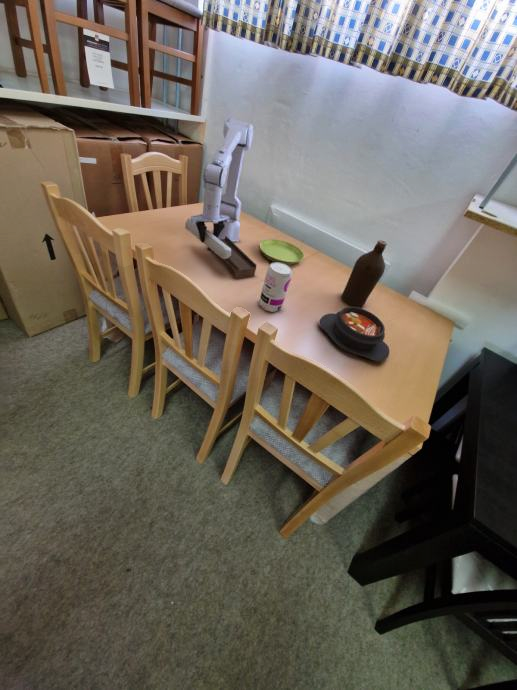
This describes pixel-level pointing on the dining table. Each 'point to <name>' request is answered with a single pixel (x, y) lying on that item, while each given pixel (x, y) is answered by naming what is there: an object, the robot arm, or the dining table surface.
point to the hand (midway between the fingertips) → (208, 241)
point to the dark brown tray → (239, 261)
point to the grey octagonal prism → (210, 240)
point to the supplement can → (275, 286)
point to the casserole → (357, 332)
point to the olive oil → (364, 276)
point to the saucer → (281, 251)
